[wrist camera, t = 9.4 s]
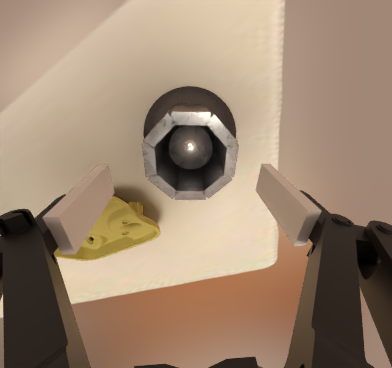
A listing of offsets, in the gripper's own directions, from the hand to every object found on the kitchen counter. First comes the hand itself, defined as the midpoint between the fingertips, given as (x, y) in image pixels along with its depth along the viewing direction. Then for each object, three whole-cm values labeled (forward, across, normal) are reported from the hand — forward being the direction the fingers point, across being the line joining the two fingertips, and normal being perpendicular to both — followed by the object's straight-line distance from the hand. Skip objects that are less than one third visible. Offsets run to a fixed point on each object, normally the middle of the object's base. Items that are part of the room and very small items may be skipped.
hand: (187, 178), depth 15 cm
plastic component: (+14, -14, -16) cm, 26 cm away
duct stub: (+14, +1, 0) cm, 14 cm away
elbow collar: (+13, +1, 0) cm, 13 cm away
